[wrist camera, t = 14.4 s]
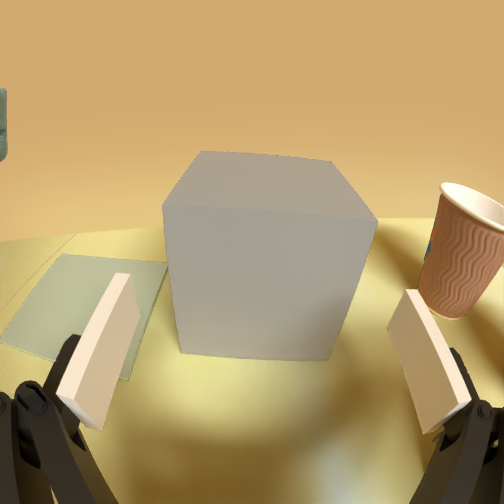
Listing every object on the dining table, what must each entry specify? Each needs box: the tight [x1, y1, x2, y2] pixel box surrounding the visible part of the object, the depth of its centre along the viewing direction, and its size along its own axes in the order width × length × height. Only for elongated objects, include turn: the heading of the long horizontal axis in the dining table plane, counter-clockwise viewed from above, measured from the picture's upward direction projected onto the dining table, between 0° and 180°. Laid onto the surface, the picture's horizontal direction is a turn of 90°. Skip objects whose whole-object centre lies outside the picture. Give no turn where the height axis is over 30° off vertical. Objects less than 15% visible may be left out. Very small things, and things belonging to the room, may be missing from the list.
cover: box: [162, 151, 378, 360], centre depth 22 cm, size 11×11×12 cm
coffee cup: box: [417, 183, 504, 320], centre depth 24 cm, size 10×10×12 cm
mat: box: [0, 254, 168, 381], centre depth 23 cm, size 14×14×1 cm
